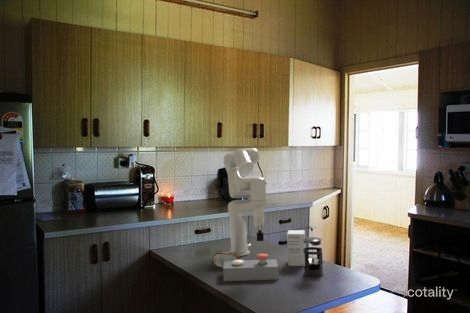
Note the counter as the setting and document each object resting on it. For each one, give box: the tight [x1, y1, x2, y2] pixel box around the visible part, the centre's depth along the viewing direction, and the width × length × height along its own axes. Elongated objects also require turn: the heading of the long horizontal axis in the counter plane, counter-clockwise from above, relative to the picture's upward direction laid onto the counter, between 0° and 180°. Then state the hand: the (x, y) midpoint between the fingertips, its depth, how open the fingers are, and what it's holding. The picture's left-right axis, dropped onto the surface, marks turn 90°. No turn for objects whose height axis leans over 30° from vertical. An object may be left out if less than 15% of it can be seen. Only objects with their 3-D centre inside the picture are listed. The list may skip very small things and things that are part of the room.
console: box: [222, 258, 280, 282], centre depth 189 cm, size 26×12×6 cm, turn 88°
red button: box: [256, 253, 269, 265], centre depth 189 cm, size 6×6×5 cm
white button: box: [232, 259, 244, 266], centre depth 189 cm, size 6×6×5 cm
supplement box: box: [286, 229, 307, 267], centre depth 206 cm, size 10×9×17 cm
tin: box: [212, 250, 242, 269], centre depth 204 cm, size 15×3×8 cm, turn 71°
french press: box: [303, 226, 324, 278], centre depth 188 cm, size 12×9×23 cm
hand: (260, 240), depth 188 cm, fingers closed
